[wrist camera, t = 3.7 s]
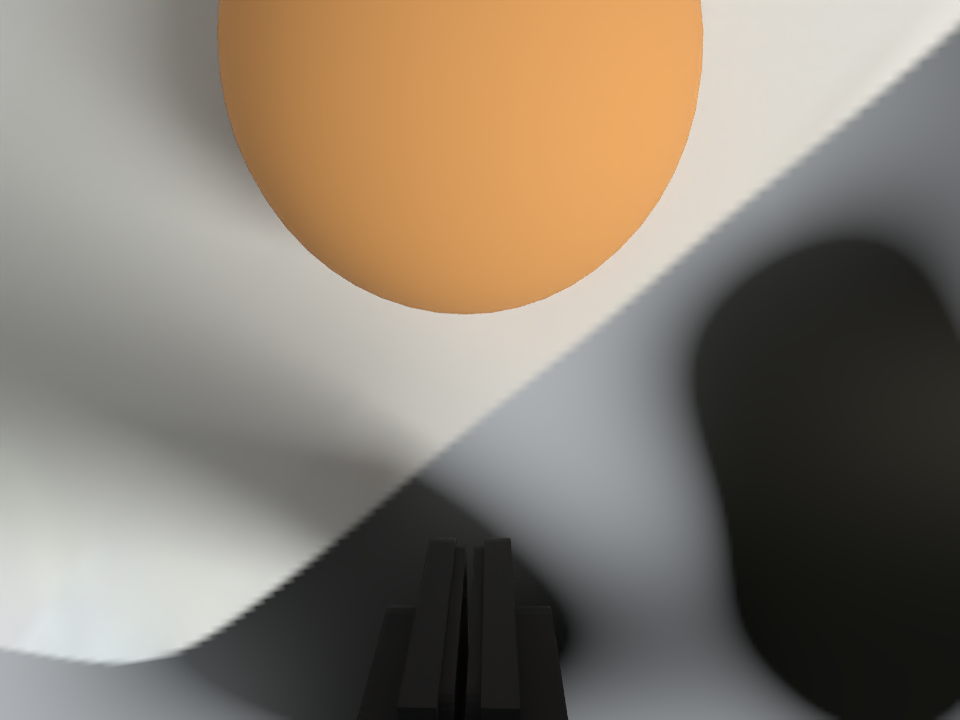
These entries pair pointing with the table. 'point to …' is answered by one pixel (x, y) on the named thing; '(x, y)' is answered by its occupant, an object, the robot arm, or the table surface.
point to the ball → (461, 134)
